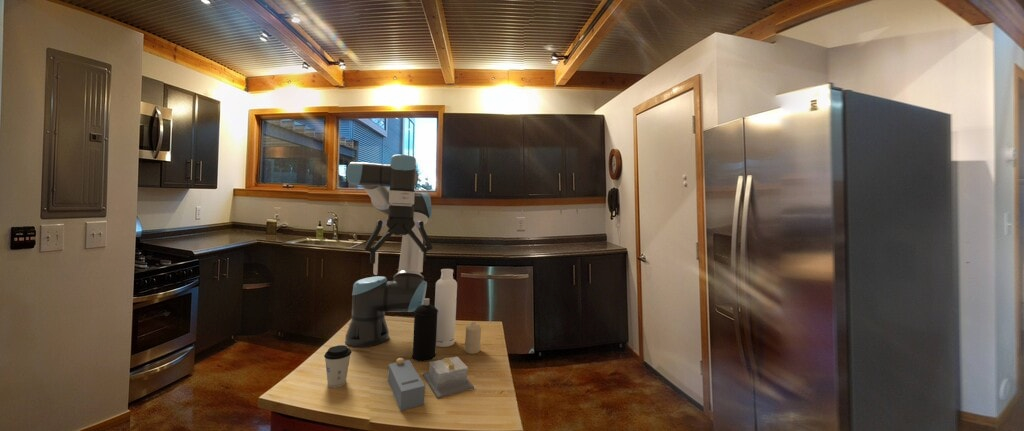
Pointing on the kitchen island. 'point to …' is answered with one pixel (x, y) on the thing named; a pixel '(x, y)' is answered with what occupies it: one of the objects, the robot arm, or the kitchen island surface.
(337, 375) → the coffee cup
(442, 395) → the rubber mat
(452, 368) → the lever cap
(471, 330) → the candle
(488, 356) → the kitchen island surface
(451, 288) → the bottle
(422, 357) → the aerosol can
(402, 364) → the block plane
